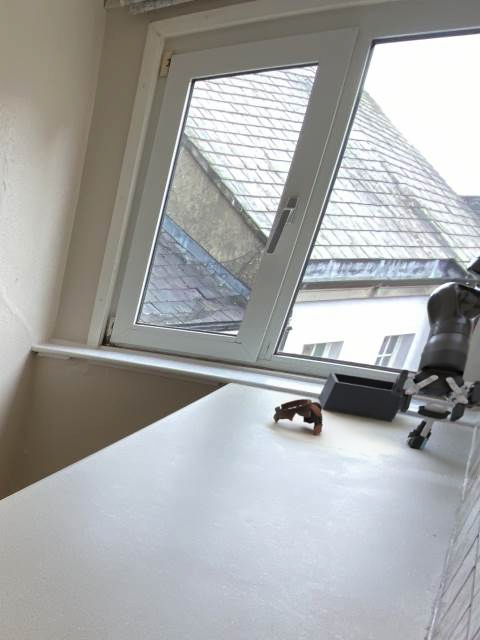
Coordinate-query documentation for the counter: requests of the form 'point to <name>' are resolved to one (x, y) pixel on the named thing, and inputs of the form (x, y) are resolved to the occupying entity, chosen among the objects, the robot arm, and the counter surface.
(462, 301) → the robot arm
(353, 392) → the dark grey open box
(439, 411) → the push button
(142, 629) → the counter surface
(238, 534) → the counter surface
